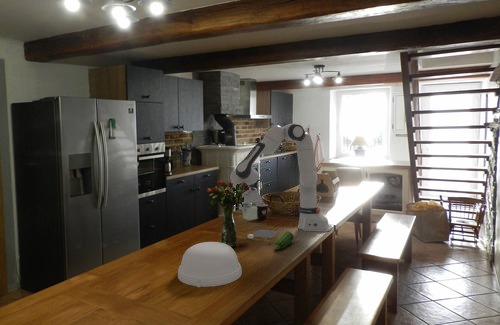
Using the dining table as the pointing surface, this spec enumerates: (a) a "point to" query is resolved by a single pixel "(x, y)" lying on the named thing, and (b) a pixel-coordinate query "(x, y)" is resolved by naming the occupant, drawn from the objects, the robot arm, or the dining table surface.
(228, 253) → the dome cover
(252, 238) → the glossy white pebble
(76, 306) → the dining table surface
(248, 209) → the square capped bottle
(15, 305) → the dining table surface
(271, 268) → the dining table surface
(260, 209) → the coffee mug
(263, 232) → the mat
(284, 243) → the vegetable
